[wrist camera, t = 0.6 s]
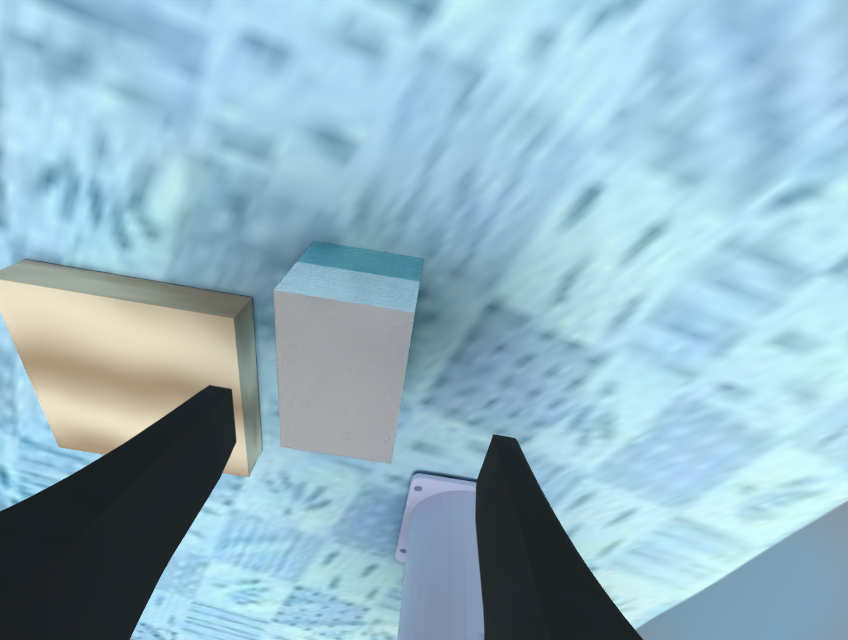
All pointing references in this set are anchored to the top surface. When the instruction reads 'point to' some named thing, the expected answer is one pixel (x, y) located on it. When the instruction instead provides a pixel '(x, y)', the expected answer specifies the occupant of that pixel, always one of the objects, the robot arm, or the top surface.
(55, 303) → the stand
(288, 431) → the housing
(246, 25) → the top surface
